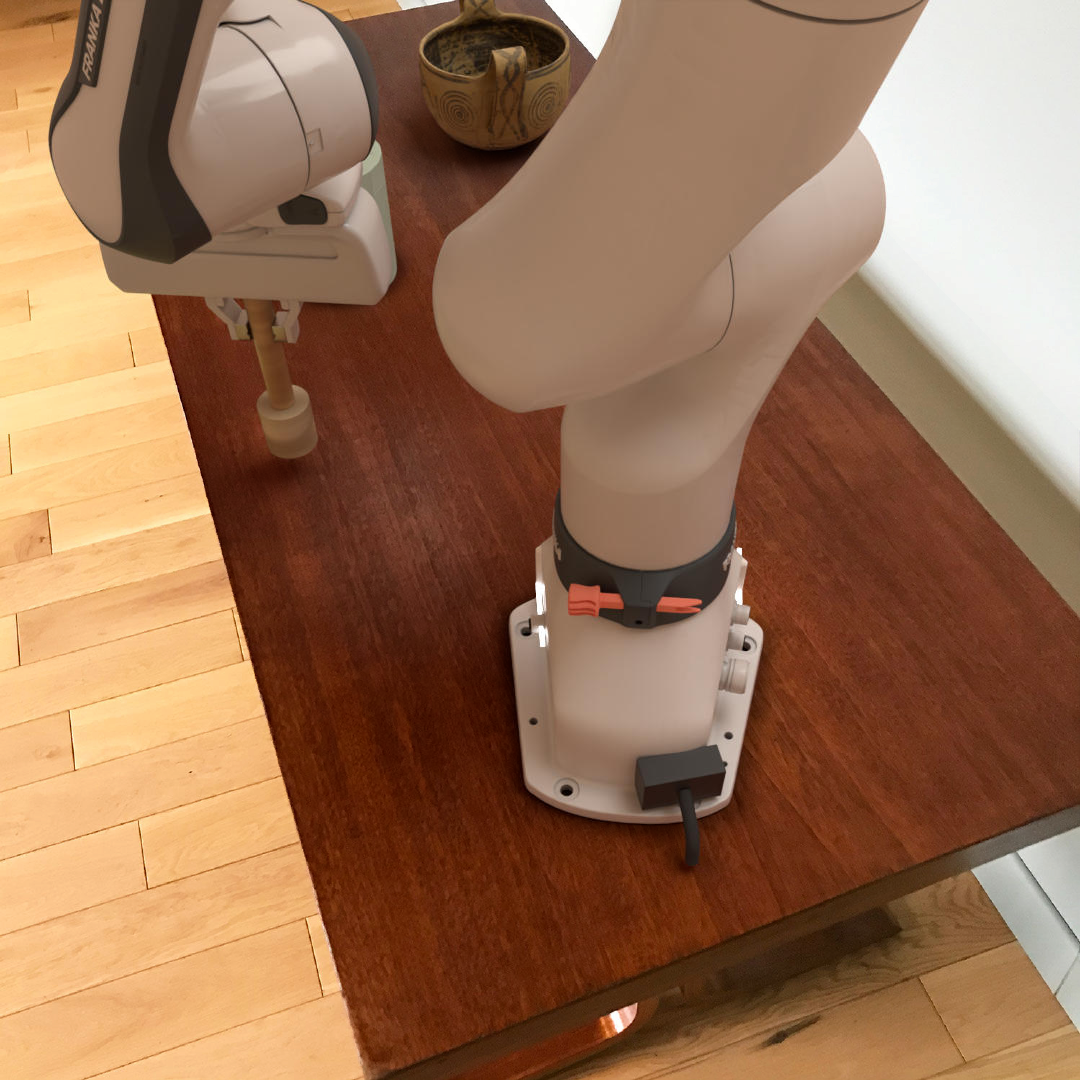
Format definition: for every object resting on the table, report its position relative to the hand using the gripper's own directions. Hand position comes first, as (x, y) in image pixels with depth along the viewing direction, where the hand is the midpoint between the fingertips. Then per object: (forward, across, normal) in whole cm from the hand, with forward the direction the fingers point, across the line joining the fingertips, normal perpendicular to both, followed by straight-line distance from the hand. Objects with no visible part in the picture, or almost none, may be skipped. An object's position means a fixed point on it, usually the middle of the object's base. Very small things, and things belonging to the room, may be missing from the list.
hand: (266, 336), depth 84 cm
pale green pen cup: (+14, -2, +28) cm, 31 cm away
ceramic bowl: (+15, +10, +56) cm, 58 cm away
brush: (+11, 0, 0) cm, 11 cm away
